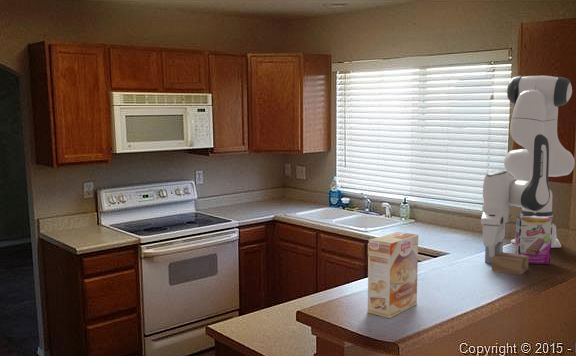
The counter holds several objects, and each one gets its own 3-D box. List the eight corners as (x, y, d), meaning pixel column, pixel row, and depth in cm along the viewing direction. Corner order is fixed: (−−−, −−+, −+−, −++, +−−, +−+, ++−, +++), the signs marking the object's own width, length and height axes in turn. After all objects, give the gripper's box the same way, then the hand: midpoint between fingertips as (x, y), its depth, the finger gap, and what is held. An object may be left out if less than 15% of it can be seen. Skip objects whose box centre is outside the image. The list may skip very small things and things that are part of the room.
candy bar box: (518, 264, 198) (519, 217, 197) (514, 260, 203) (515, 215, 202) (551, 264, 197) (553, 218, 195) (546, 261, 202) (548, 216, 200)
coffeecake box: (390, 319, 142) (391, 243, 141) (366, 313, 147) (366, 239, 145) (418, 304, 154) (419, 234, 152) (395, 299, 158) (396, 231, 157)
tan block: (501, 266, 196) (501, 252, 196) (528, 270, 190) (528, 255, 190) (491, 271, 189) (492, 256, 189) (519, 275, 183) (520, 260, 183)
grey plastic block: (487, 259, 204) (488, 240, 204) (502, 261, 202) (503, 242, 201) (484, 262, 200) (485, 243, 200) (499, 264, 198) (500, 244, 197)
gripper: (491, 211, 210) (490, 248, 211) (479, 219, 192) (478, 259, 194) (509, 213, 207) (508, 250, 208) (499, 221, 189) (497, 261, 191)
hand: (494, 254), depth 201 cm, fingers closed on grey plastic block, 5 cm apart
